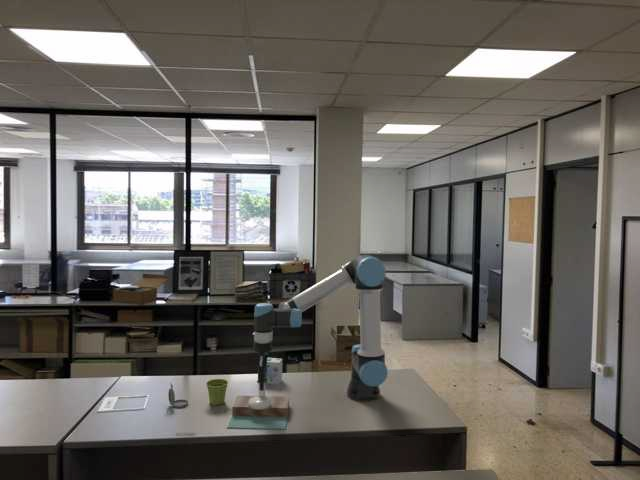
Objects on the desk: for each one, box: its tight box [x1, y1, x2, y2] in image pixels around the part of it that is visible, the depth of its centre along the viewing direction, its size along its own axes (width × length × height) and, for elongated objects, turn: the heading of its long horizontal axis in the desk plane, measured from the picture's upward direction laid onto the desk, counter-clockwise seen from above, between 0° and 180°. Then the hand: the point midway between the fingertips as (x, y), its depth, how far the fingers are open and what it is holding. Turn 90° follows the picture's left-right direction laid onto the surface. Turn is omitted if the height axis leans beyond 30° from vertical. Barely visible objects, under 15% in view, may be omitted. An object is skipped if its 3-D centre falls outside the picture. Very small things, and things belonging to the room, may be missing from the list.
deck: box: [231, 394, 290, 418], centre depth 199 cm, size 22×12×4 cm, turn 90°
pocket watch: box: [167, 382, 189, 408], centre depth 203 cm, size 8×8×10 cm
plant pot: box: [205, 378, 229, 406], centre depth 207 cm, size 9×9×9 cm
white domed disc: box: [249, 396, 271, 410], centre depth 196 cm, size 9×9×2 cm
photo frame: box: [97, 394, 150, 413], centre depth 204 cm, size 15×1×18 cm
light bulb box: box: [266, 357, 283, 385], centre depth 234 cm, size 11×7×11 cm, turn 81°
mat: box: [226, 415, 288, 431], centre depth 188 cm, size 22×10×1 cm, turn 90°
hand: (261, 397), depth 201 cm, fingers closed
